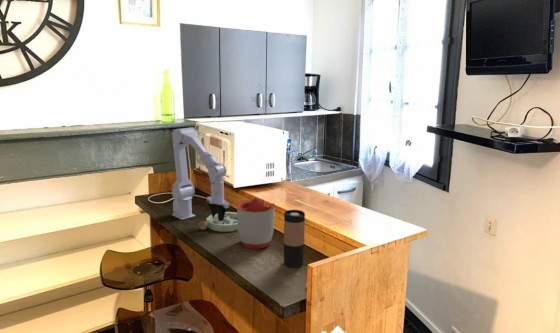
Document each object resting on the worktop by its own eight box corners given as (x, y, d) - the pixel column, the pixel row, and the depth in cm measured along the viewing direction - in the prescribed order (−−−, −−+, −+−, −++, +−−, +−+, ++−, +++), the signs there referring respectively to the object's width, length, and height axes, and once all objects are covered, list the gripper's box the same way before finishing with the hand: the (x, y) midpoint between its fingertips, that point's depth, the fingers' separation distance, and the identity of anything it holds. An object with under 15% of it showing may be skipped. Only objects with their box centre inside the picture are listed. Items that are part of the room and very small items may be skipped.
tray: (199, 224, 190) (199, 218, 190) (230, 215, 203) (230, 209, 202) (222, 235, 178) (222, 228, 177) (253, 224, 190) (253, 218, 189)
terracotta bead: (197, 229, 184) (196, 221, 183) (204, 227, 186) (204, 219, 186) (202, 231, 181) (201, 223, 180) (209, 229, 184) (209, 221, 183)
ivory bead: (219, 220, 189) (218, 212, 188) (224, 222, 186) (224, 214, 186) (211, 222, 186) (211, 213, 186) (217, 224, 184) (216, 216, 183)
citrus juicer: (285, 242, 170) (286, 197, 166) (254, 255, 158) (254, 206, 154) (260, 232, 181) (260, 189, 177) (229, 243, 169) (228, 197, 165)
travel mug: (282, 259, 155) (283, 209, 151) (302, 258, 156) (303, 209, 151) (284, 268, 148) (285, 216, 143) (305, 268, 148) (306, 216, 144)
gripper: (200, 189, 185) (201, 217, 188) (219, 196, 175) (220, 225, 178) (213, 186, 190) (214, 213, 193) (232, 193, 180) (233, 221, 183)
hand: (218, 219), depth 186 cm, fingers closed on ivory bead, 4 cm apart
